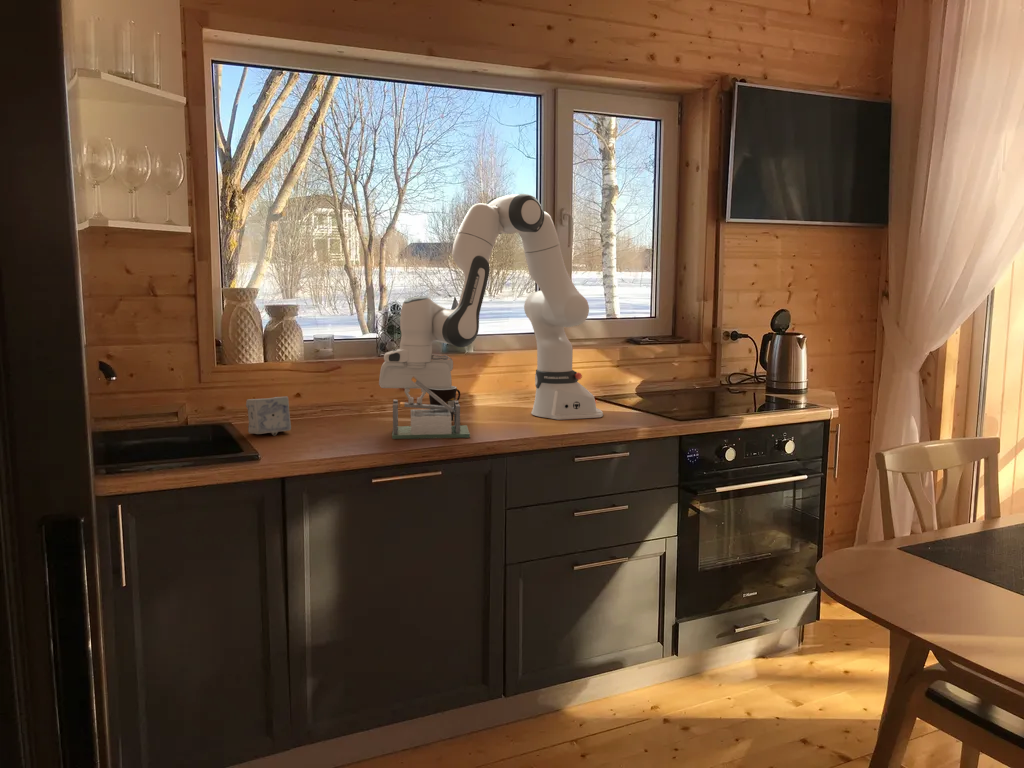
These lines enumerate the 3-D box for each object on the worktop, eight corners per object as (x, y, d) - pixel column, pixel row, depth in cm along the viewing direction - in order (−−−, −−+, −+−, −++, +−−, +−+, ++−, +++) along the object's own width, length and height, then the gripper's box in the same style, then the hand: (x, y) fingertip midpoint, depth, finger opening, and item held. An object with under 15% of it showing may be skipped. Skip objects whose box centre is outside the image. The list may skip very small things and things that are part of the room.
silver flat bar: (450, 408, 231) (450, 405, 231) (450, 410, 228) (451, 407, 228) (400, 404, 229) (400, 401, 229) (399, 406, 226) (400, 403, 226)
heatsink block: (466, 428, 234) (466, 397, 233) (469, 437, 222) (469, 405, 221) (393, 429, 231) (392, 398, 230) (392, 438, 220) (391, 406, 218)
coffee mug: (434, 423, 241) (434, 390, 239) (424, 418, 248) (423, 386, 247) (470, 420, 246) (470, 388, 244) (459, 415, 253) (459, 384, 252)
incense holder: (280, 429, 231) (279, 393, 230) (292, 434, 225) (290, 397, 223) (246, 433, 225) (244, 396, 224) (257, 438, 219) (255, 400, 217)
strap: (451, 410, 225) (453, 408, 225) (451, 412, 222) (453, 410, 222) (411, 378, 222) (413, 376, 222) (411, 380, 219) (413, 377, 219)
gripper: (452, 354, 230) (451, 402, 232) (379, 353, 228) (379, 401, 230) (453, 356, 224) (452, 406, 226) (378, 355, 222) (378, 405, 223)
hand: (415, 404), depth 228 cm, fingers closed
